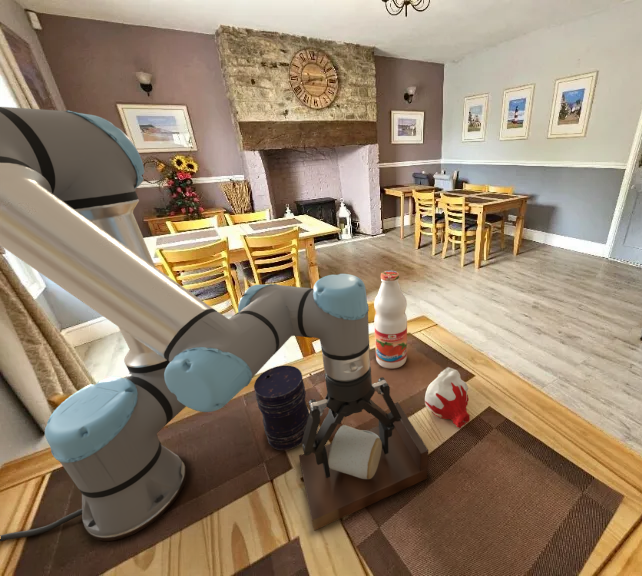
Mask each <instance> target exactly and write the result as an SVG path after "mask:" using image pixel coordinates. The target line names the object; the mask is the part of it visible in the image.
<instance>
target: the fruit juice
mask: <svg viewBox="0 0 642 576" xmlns="http://www.w3.org/2000/svg"><path fill="white" fill-rule="evenodd" d="M380 280H381V283H380V286H379V289H378V291H377V294H376V296H375V298H374V299H373V300H374V301H373V307H374V311H375V314H374V321H373V322H374V323H373V324H374V325H373V326H374V347H375V348H374V349H375V360H376V363H377V364H378V365H379V366H380V367H382V368H385V369H398V368H401V367H402V366H404V365H405V363H406V362H407V358H408V316H407V314H406V310H407V307H408V302H407V298H406V296H405V294H404V293H403V291H402V288H401V285H400V283H399V280H400V273H399V272H398V271H395V270H385V271H382V272H381V273H380Z"/></svg>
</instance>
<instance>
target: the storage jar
mask: <svg viewBox="0 0 642 576" xmlns="http://www.w3.org/2000/svg"><path fill="white" fill-rule="evenodd" d="M253 390H254V392H255V400H256V403H257V407H258V409H259V411H260V413H261V415H262V424H263V429H264V434H265V435H266V438H267V439H266V440H267V442H268V444H269V446H270V447H272V448H273V449H275V450H277V451H278V450H279V451H288V450H292V449H295V448H297V447H298V446H300V445H302V439H303V435H304V432H305V428H306V424H307V420H308V417H309V413H310V409H309V407H308V405H307V401H306V396H307V395H306V394H307V393H306V392H307V391H306V388H305V382H304V379H303V373H302V371H301V370H300V369H299V368H298V367H296V366H294V365H289V364H288V365H278V366H277V365H276V366H273V367H271V368H269V369H267V370H265V371H263V372H262V373H261V374H260V375H259V376H258V377H257V378H256V380H255V381H254V384H253Z"/></svg>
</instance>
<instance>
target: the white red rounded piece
mask: <svg viewBox="0 0 642 576" xmlns="http://www.w3.org/2000/svg"><path fill="white" fill-rule="evenodd" d="M468 391H469V387H468V383H467V382H465V381H464V380H463V379H462V377H461V374H460V372H459V370H458V369H455V368H452V367H449V366H447V367H445V369H443V370H442V371H440V373H439V374H437V377H436V378H435V379H434V380H432V382H430V384H428V386H427V388H426V391H425V396H424V405H425V407H426V408H427V409H428V410H429V411H430V412H431V414H432V415H434V416H435V417H437V418H439V419H443V420H450V421H452V423H453V424H454V425H455V426H456V428H458V429H462V427H464V426H465V425H466V424H467V423H469V422H470V418H471V417H470V414H469V412H468V410H467V407H468V405H469V400H470V399H469V394H468Z"/></svg>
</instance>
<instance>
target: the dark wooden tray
mask: <svg viewBox="0 0 642 576" xmlns="http://www.w3.org/2000/svg"><path fill="white" fill-rule="evenodd" d="M394 404H395V406H396V408H397V410H398V412H399V414H400V416H401V418H402V419H401V420H400V421H399V422H397V421H395V422H394V423H393V424H394V426H395V428H394V429H393V430H392V436H391V437H389V438H388V452H389V453H387V454H385V453H384V451H383V449H382V450H381V456H380V460H379V464H378V467H377V470H376V472H375V474H374V476H373V477H372V478H371V479H361V478H358V477H355V476H352V475H349V474H346V473H343V472H339V471H336V470H332V469H331V468H330V467H329V471H330V477H328V478H326V475H325V472H324V468H323V463H322V464H320V465H318V464H317V462H316V458H315V453H311V454H310V455H308V456H305V455H304V453H302V454H299V455H298V457H299V462H300V463H299V464H300V467H301V468H300V469H301V473H302V478H303V483H304V488H305V493H306V498H307V503H308V508H309V513H310V517H311V518H310V519H311V524H312V528H313V531H316V530H319V529H321V528H323V527H326V526H327V525H329V524H332V523H334V522H336V521H339V520H341V519H343V518H345V517H347V516H350V515H351V514H353V513H356V512H358V511H360V510H362V509H365V508H366V507H369V506H371V505H373V504H375V503H378V502H380V501H382V500H384V499H386V498H388V497H390V496H393V495H394V494H398V493H399V492H401V491H403V490H406V489H408V488H410V487H412V486H414V485H416V484H419V483H421V482H423V481H425V480H427V479H428V467H429V449H428V447H427V446H426V443H424V441H423V440H422V438H421V436H420V435H419V433H418V432H417V430H416V428H415V427H414V425H413V423H412V422H411V421H410V419H409V417H408V415H407V414H406V413H405V411H404V409H403V408H402V406H401V404H400V403H399V402H394ZM366 431H370V432H373V433H375V434H376V435H378V436H379V425H377V426H375V427H372V428H370V429H366ZM331 444H332V442H331V443H328V444H326V445H325V448H326V452H327V458H328V459H329V452H330V447H331Z"/></svg>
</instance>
